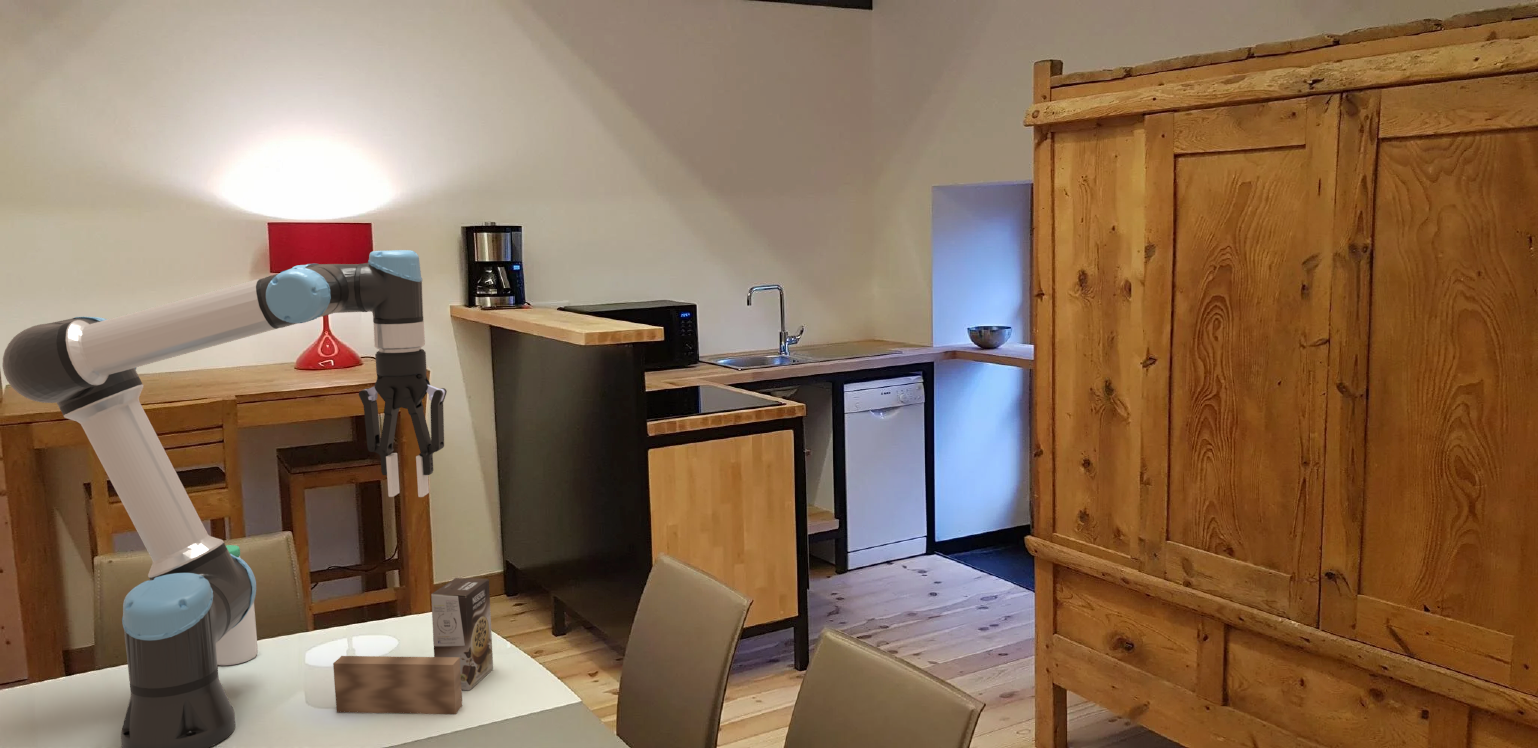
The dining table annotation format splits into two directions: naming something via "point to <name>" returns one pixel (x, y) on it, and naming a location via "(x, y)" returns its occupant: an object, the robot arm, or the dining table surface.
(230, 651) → the milk bottle
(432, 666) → the wooden block
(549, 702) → the dining table surface
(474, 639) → the coffee box
